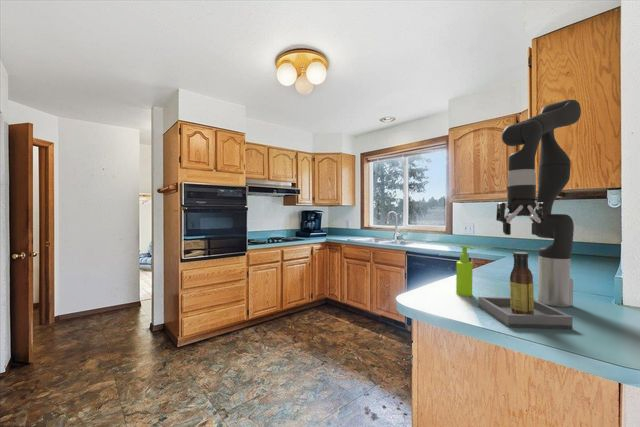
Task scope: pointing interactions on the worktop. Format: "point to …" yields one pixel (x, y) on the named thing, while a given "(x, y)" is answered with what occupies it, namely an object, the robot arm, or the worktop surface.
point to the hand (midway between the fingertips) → (521, 234)
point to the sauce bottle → (521, 285)
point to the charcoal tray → (539, 319)
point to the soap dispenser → (464, 273)
